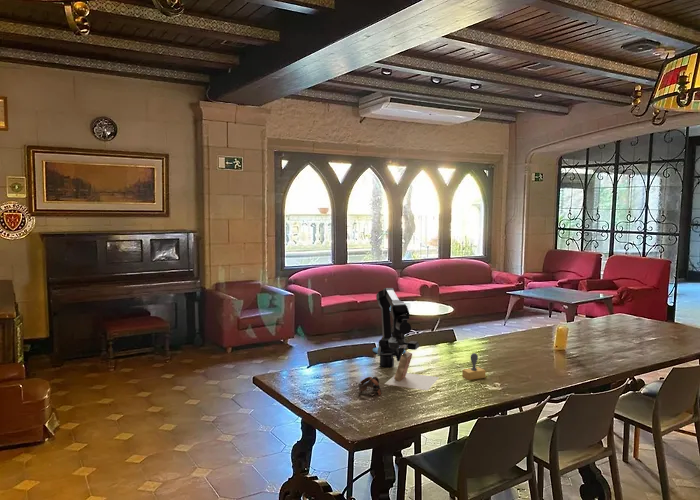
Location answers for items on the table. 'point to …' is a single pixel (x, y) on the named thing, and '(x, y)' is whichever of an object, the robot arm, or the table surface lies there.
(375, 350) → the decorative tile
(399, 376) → the oak tile
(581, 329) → the table surface
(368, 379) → the brown arched piece
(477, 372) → the rubber stamp
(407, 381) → the grey rubber mat
